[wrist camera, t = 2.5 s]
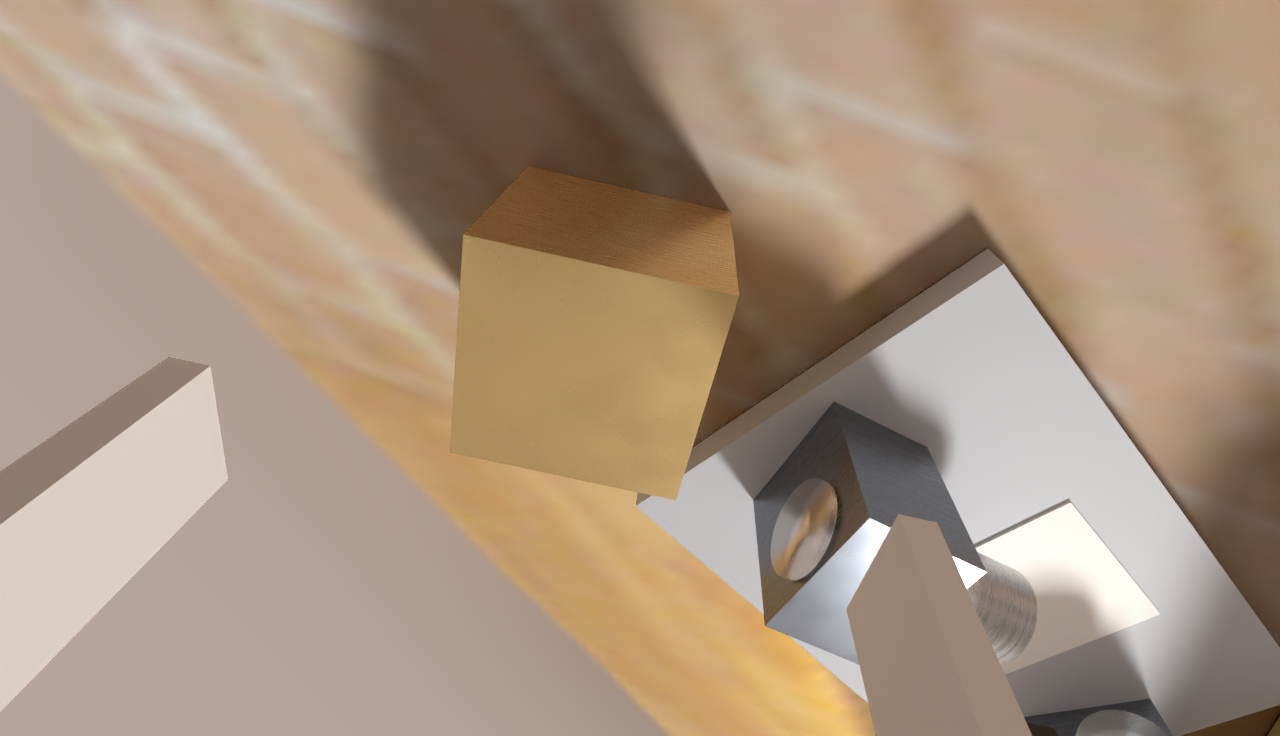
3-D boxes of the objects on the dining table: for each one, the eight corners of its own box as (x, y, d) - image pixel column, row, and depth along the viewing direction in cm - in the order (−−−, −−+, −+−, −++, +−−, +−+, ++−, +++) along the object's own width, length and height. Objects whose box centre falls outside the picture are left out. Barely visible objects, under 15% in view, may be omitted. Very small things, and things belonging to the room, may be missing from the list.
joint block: (509, 341, 22) (449, 452, 17) (529, 165, 19) (463, 234, 14) (682, 380, 22) (676, 500, 17) (730, 210, 19) (739, 295, 14)
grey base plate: (638, 483, 25) (635, 507, 23) (987, 248, 19) (1005, 265, 18) (971, 772, 32) (980, 800, 31) (1289, 666, 27) (1315, 697, 25)
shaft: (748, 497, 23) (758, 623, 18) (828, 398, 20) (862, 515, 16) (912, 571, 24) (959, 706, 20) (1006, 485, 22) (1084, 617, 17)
